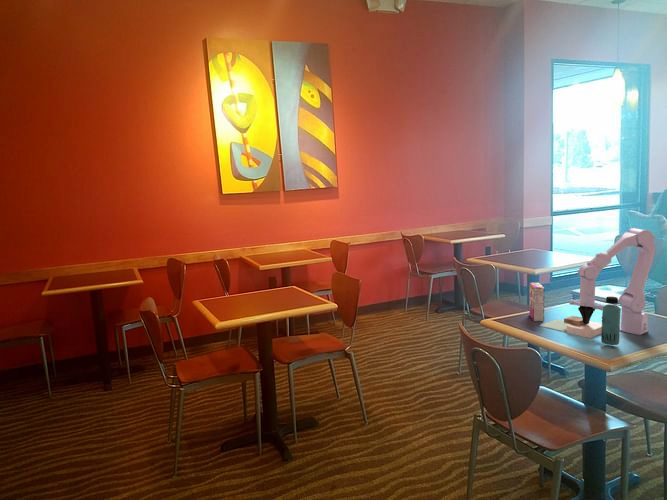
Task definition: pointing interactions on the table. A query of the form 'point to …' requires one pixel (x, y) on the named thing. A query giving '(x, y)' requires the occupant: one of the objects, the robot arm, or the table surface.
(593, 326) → the pale pink flat block
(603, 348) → the table surface
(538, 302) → the candy bar box
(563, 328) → the mat
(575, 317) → the walnut tile
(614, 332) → the beverage bottle
